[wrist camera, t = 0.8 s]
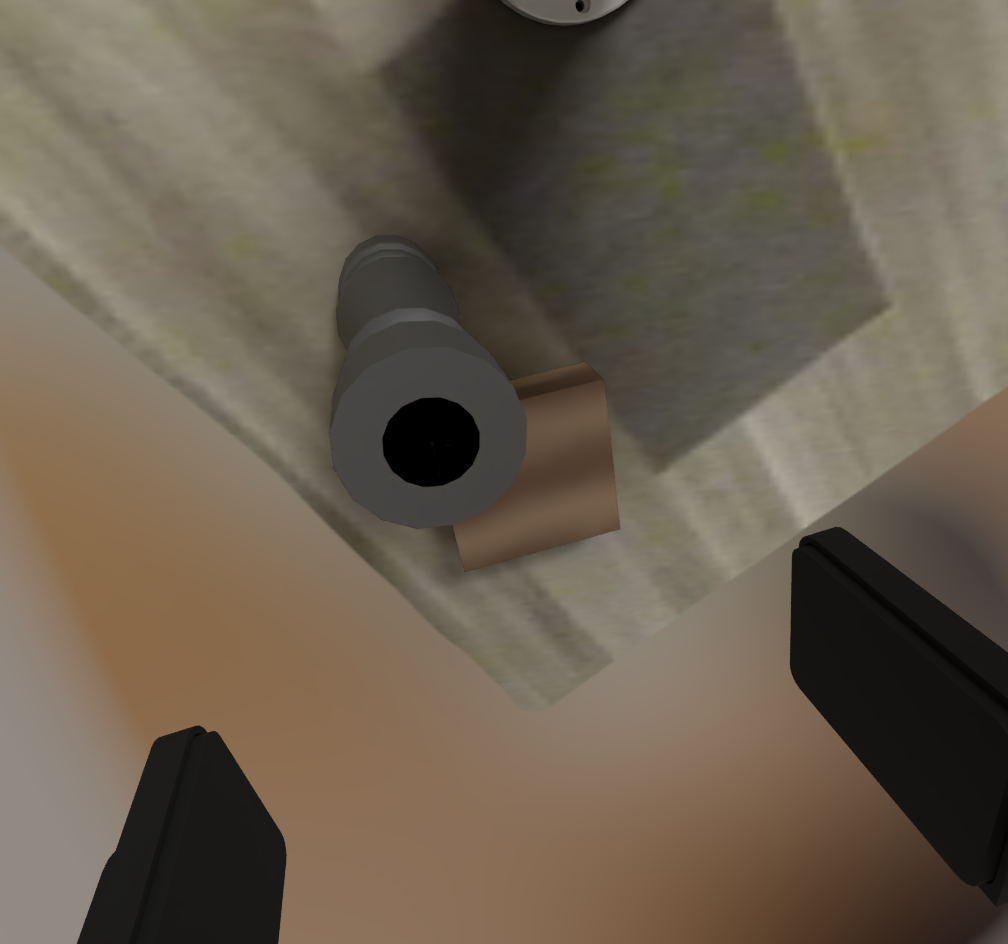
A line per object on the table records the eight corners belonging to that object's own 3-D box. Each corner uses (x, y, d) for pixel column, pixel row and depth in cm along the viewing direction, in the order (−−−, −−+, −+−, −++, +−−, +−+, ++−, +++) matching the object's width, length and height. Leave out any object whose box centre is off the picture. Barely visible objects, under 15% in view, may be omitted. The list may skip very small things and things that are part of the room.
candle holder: (457, 271, 40) (577, 406, 18) (407, 352, 42) (463, 565, 20) (370, 213, 38) (391, 290, 16) (321, 302, 39) (279, 482, 18)
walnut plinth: (420, 402, 44) (425, 423, 40) (584, 361, 45) (604, 379, 41) (456, 542, 49) (464, 571, 46) (601, 503, 51) (620, 529, 47)
